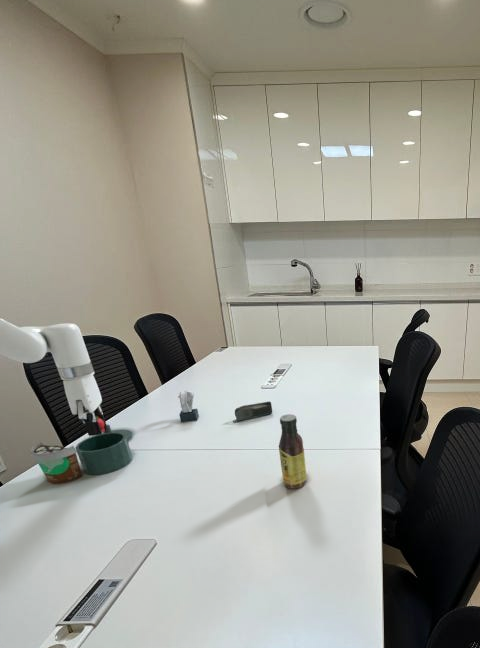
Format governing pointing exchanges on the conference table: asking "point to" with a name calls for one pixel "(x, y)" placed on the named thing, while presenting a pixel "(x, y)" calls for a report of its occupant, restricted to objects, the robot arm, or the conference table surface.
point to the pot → (104, 453)
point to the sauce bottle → (291, 453)
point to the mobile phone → (253, 411)
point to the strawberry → (100, 423)
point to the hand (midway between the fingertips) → (98, 430)
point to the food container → (57, 463)
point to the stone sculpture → (187, 407)
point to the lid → (126, 432)
